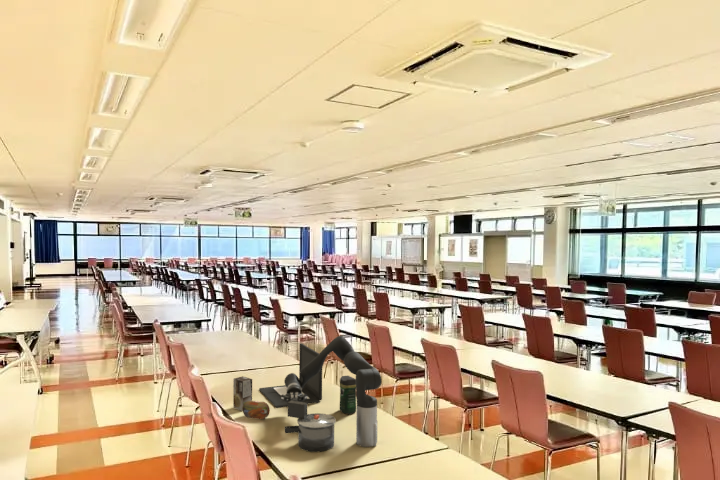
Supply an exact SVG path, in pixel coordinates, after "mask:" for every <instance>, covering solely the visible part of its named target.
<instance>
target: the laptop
mask: <svg viewBox="0 0 720 480" xmlns="http://www.w3.org/2000/svg"><path fill="white" fill-rule="evenodd" d="M319 354H320V352H317V351H315V350H314V349H312V348H310V347H308V346H307V345H306V344H303V343H299V366H298V367H299V368H298V369H299V370H298V373H299V375H298V378H299V379H300V380H301V381H302V380H303V378H302V376H301V374H300V370H301V369H302V368H303V367H305V366H306V365H307V364H309V363H310V362H311V361H312V360H313V359H315V358H316V357H317V356H318V355H319ZM286 390H287V387H286V385H285V384H283V385H276V386H267V387H266V386H265V387H260V388H259V392H260V393H261V394H262V395H263V396H264V397H265V398H266V399H267V400H268V401H269V403H271V404H272V405H273V407H275V409H278V408H279V409H280V408H288V402H285V401H282V400H281V395H286V393H287V391H286ZM302 394H307V400H304V401H302V402H305V403H307V405H311V404H316V403H317V404H318V403H320V402H321V401H322V400H323V368H322V369H321V370H320V371H319V373H317V374H316V375H315V376H314V377H312V378H311V379H310V380H309V381H308V382H307V383H306V384H305V385H304V387H303V388H302ZM287 400H288V399H287ZM298 402H299V401H298Z"/></svg>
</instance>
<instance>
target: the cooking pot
mask: <svg viewBox="0 0 720 480" xmlns="http://www.w3.org/2000/svg"><path fill="white" fill-rule="evenodd" d="M297 433H298V438H297V439H298V443H297V445H298V448H299V449H301V450H303V451H306V452H312V453H315V452H316V453H317V452H325V450H326V451H329V450H330V449H333V448H334V446H335V424H333V425H331V426H329V427H325V428H306V427H303V426H300V425H299V424H298V425H287V426H284V434H297Z"/></svg>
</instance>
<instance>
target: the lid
mask: <svg viewBox="0 0 720 480" xmlns="http://www.w3.org/2000/svg"><path fill="white" fill-rule="evenodd" d="M287 417H288V418H295V419H297V420H296V421H297V424H298V426H299V425H300V426H303V427H306V428H325V427H329V426H331V425H333V424H334V425H335V424H336V420H337V419H336V417H335V416H333V415H331V414H326V413H318V412H317V413H309V414H308V404H307V403H305V402H298V401H289V402H288V407H287Z"/></svg>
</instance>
